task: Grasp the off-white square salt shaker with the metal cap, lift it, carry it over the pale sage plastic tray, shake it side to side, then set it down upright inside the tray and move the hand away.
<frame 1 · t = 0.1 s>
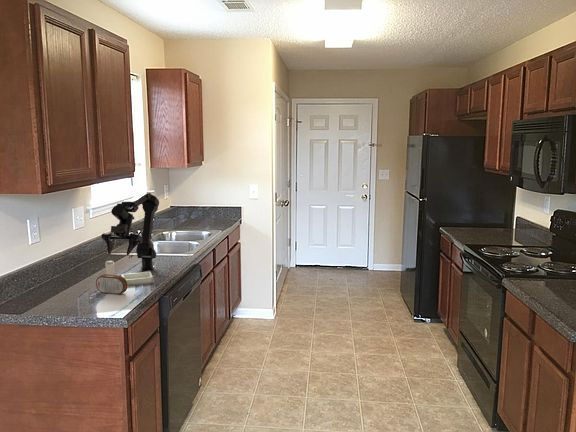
hand: (118, 254, 223), 15 cm above the worktop, tool tilted 30°, fingers open, 9 cm apart
tray: (137, 281, 231), on the worktop
shaker: (110, 279, 236), on the worktop
tin: (111, 293, 213), on the worktop
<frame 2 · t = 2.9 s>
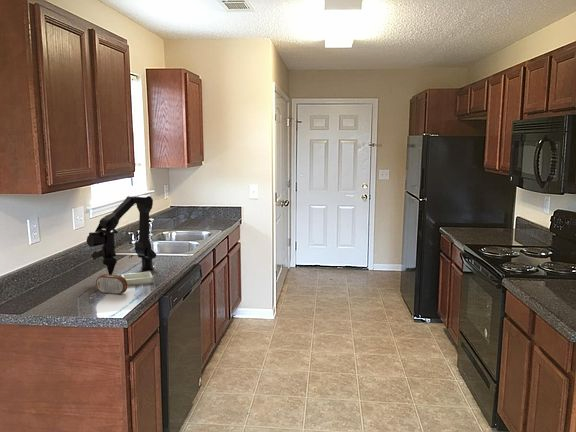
hand: (110, 274, 236), 3 cm above the worktop, tool pointing down, fingers closed on shaker, 4 cm apart
shaker: (110, 279, 236), on the worktop, touching gripper
everything else where it was.
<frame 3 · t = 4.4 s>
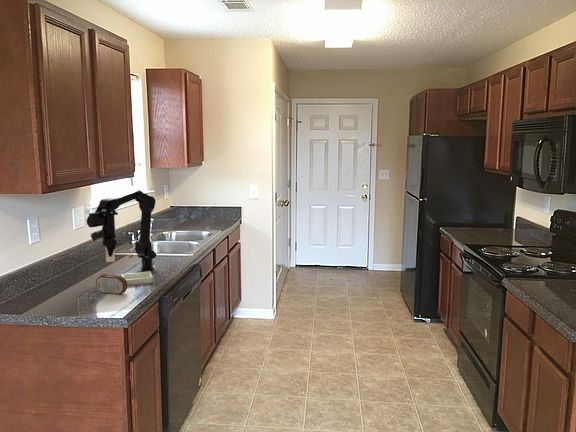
hand: (110, 255, 234), 12 cm above the worktop, tool pointing down, fingers closed on shaker, 4 cm apart
shaker: (110, 260, 234), point 9 cm above the worktop, touching gripper
everything else where it was.
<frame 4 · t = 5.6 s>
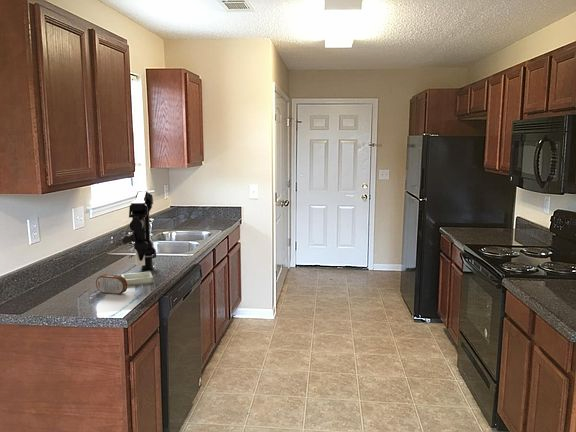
hand: (140, 259, 230), 11 cm above the worktop, tool pointing down, fingers closed on shaker, 4 cm apart
shaker: (140, 264, 231), point 8 cm above the worktop, touching gripper
everything else where it was.
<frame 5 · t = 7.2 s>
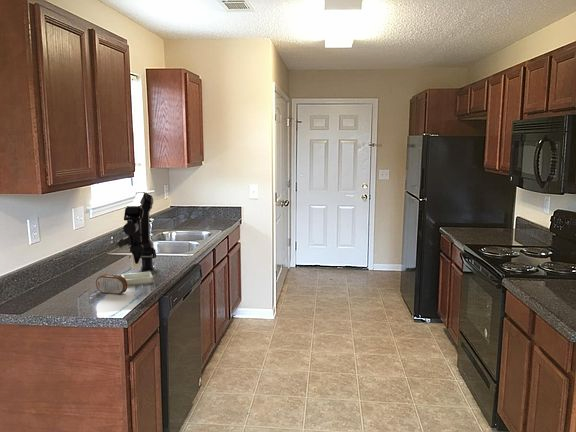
hand: (136, 262, 230), 10 cm above the worktop, tool pointing down, fingers closed on shaker, 4 cm apart
shaker: (136, 267, 230), point 7 cm above the worktop, touching gripper
everything else where it was.
when the fingers open (5 cm above the worktop, at t = 8.7 s): shaker drops 1 cm, resting on tray.
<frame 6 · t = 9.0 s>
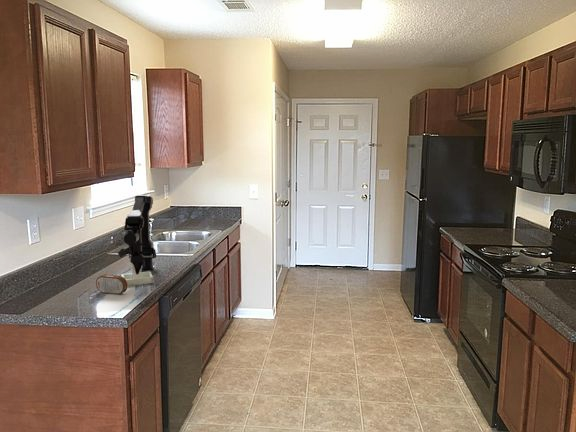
hand: (136, 272, 230), 5 cm above the worktop, tool pointing down, fingers open, 8 cm apart
shaker: (136, 280, 231), point 1 cm above the worktop, touching tray
everything else where it was.
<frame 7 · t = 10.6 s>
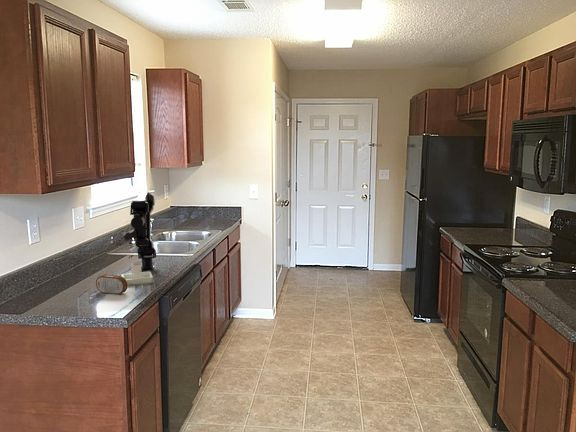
hand: (141, 255, 237), 12 cm above the worktop, tool pointing down, fingers open, 9 cm apart
nothing on the worktop moved.
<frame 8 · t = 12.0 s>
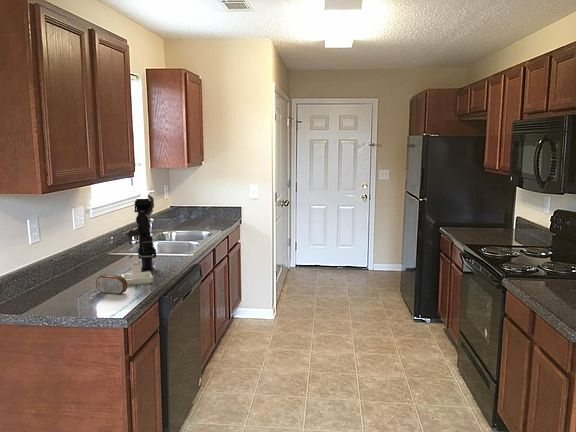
hand: (144, 252, 240), 12 cm above the worktop, tool pointing down, fingers open, 9 cm apart
nothing on the worktop moved.
at the end: shaker inside the target area on the tray (0.1 cm from its centre), point 0.8 cm above the tray's base; shaker tilted 0°; the gripper is holding nothing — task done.
